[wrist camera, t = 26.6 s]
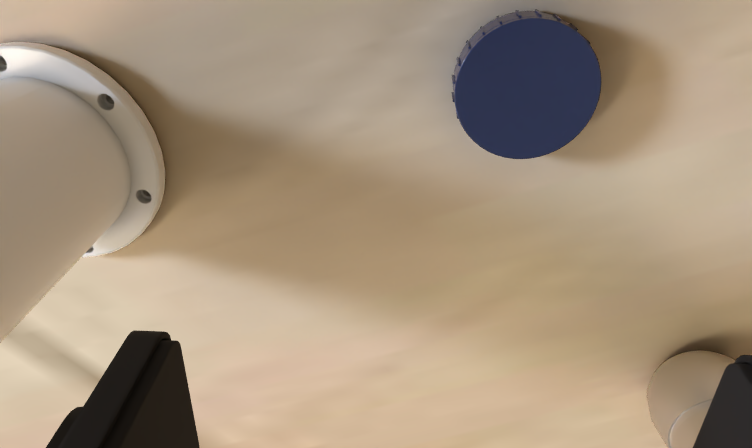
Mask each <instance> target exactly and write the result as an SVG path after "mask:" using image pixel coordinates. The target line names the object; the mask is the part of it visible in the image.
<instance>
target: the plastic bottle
mask: <svg viewBox="0 0 752 448" xmlns="http://www.w3.org/2000/svg"><path fill="white" fill-rule="evenodd" d="M735 361H736V360H734V359H732V358H730V357H728V356H725V355H722V354H719V353H715V352H711V351H703V350H699V351H689V352H684V353H681V354H678V355H676V356H674V357H672V358H670V359H668V360H667V361H665V362H664V363H663V364H661V365H660V366H659V368H658V369H657V370H656V371H655V373H654V374H653V376H652V378H651V381H650V383H649V386H648V389H647V400H648V405H649V410H650V415H651V420H652V422H653V424H654V426H655V428H656V429H657V431H658V433H659V434H660V436H661V438H662V439H663V441H664V442H665V444H666V445H667V447H668V448H693V446H694V443H695V441H696V438H697V436H698V433H699V431H700V429H701V426H702V424H703V421H704V419H705V416H706V414H707V412H708V409H709V407H710V404H711V402H712V399H713V397H714V395H715V392H716V390H717V387H718V385H719V382H720V380H721V378H722V375H723V373H724V370H725V368H726V367H727V365H729V364H732V363H735Z"/></svg>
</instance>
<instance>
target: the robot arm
mask: <svg viewBox="0 0 752 448" xmlns="http://www.w3.org/2000/svg"><path fill="white" fill-rule="evenodd" d="M110 97H111V98H112V99H113V100H112V99H111V98H110ZM164 190H165V167H164V161H163V155H162V150H161V148H160V145H159V142H158V140H157V137H156V134H155V132H154V130H153V128H152V126H151V125H150V123H149V121H148V119H147V118H146V116H145V114H144V112H143V111H142V110H141V108H140V107H139V106H138V105H137V103H136V102H135V101H134V100H133V98H132V97H131V96H130V95H129V93H128V92H127V91H126V90H125V89H123V88H122V87H121V86H120V85H119V84H118V83H117V82H116V81H115V80H114V79H113V78H111V77H110V76H109V75H108V74H106V73H105V72H104V71H102V70H101V69H99V68H98V67H96V66H95V65H93V64H92V63H90V62H89V61H87V60H85V59H83V58H81V57H78V56H76V55H74V54H72V53H70V52H68V51H66V50H63V49H59V48H55V47H52V46H48V45H45V44H41V43H30V42H19V41H18V42H9V43H1V44H0V343H1V342H2V341H3V340H4V338H5V337H6V336H7V335H8V334H9V333H10V332H11V331H12V330H13V329H14V328H15V327H16V326H17V325H18V324H19V323H20V322H21V320H22V319H23V318H24V317H25V316H26V315H27V314H28V313H29V312H30V311H31V310H32V309H33V308H34V307H35V306H36V305H37V304H38V302H39V301H40V300H41V299H42V298H43V297H44V296H45V295H46V294H47V293H48V292H49V291H50V290H51V289H52V288H53V287H54V286H55V284H56V283H57V282H58V281H59V280H60V279H61V278H62V277H63V276H64V275H65V274H66V273H67V272H68V271H69V270H70V269H71V268H72V266H73V265H74V264H75V263H76V262H77V261H78V260H79V259H80V258H83V257H97V256H101V255H105V254H109V253H113V252H115V251H117V250H119V249H121V248H123V247H125V246H127V245H129V244H130V243H131V242H133V241H134V240H135V239H136V238H137V237H139V236H140V235H141V234H142V233H143V232H144V230H145V229H146V228H147V227H148V226H149V224H150V223H151V222H152V221H153V219H154V217H155V215H156V213H157V212H158V210H159V208H160V205H161V202H162V198H163V194H164ZM46 448H199V442H198V436H197V431H196V426H195V420H194V415H193V409H192V404H191V399H190V393H189V388H188V383H187V377H186V372H185V367H184V361H183V356H182V351H181V346H180V343H179V342H178V341H171V338H170V335H169V334H168V333H167V332H157V331H132V332H131V333H130V334H129V335H128V336H127V338H126V340H125V341H124V343H123V344H122V346H121V348H120V349H119V351H118V352H117V354H116V355H115V357H114V359H113V360H112V362H111V363H110V365H109V367H108V368H107V370H106V371H105V373H104V375H103V376H102V378H101V379H100V381H99V383H98V384H97V386H96V387H95V389H94V391H93V392H92V394H91V395H90V397H89V399H88V400H87V402H86V403H85V405H84V406H83V407H77V408H75V409H74V410H72V411H71V412H70V413H69V414H68V415H67V417H66V418H65V419H64V421H63V422H62V424H61V425H60V427H59V428H58V430H57V431H56V433H55V434H54V436H53V438H52V439H51V441H50V442H49V444H48V445H47V447H46ZM693 448H752V355H743V356H740V357H738V358H737V359H736V361H735V363H732V364H729V365H727V367H726V368H725V370H724V373H723V375H722V378H721V380H720V382H719V385H718V387H717V390H716V392H715V395H714V397H713V399H712V402H711V404H710V407H709V409H708V412H707V414H706V416H705V419H704V421H703V424H702V426H701V429H700V431H699V433H698V436H697V438H696V441H695V443H694V446H693Z"/></svg>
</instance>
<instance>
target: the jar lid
mask: <svg viewBox="0 0 752 448" xmlns="http://www.w3.org/2000/svg"><path fill="white" fill-rule="evenodd" d="M577 30H578V29H577V28H576V27H575V26H574V25H572V24H571V23H570V24H568V23H567V22H565V21H564V20H562V19H560V18H559V17H558V16H557V15H556V14H554V15H551V14H548V13H545V12H539V11H538V10H536V9H535V11H520V12H519V11H518V10H516V12H514V13H510V14H506V15H504V16H501V17H499V16H497V19H495V20H493V21H491V22H489V23H488V24H486V25H485V26H483V27H482V26H481V27H480V30H479V31H478V32H476V33H475V34H474V35H473V36H472V38H471V39H470V40H469V41H468V40H467V41H466V45H465V47H464V48H463V50H462V52H461V54H460V56H459V57H457V64H456V67H455V71H454V75H452V80H453V92H452V98H453V102H455V107H456V113H457V118H458V119H459V121H460V123H461V125H462V127H463V129H464V130H465V131H466V133H467V134H468V136H469V137H470V138H471V139H472V140H473V141H474V142H475V143H476V144H478V145H479V146H480V147H482V148H483V149H485V150H487V151H488V152H491V153H493V154H495V155H498V156H502V157H506V158H512V159H529V158H535V157H540V156H543V155H546V154H549V153H551V152H554V151H556V150H558V149H560V148H561V147H563V146H565V145H566V144H568V143H569V142H570V141H571V140H573V139H574V138H575V137H576V136H577V135H578V134H579V133H580V132H581V131H582V130H583V129H584V127H585V126H586V125H587V123H588V122H589V120H590V119H591V117H592V115H593V113H594V111H595V109H596V106H597V103H598V100H599V96H600V91H601V71H600V67H599V62H598V59H597V57H596V55H595V53H594V51H593V49H592V47H591V46H590V42H589V41H588V40H587V39H586V38H585V37H583V36H582V35H580V34H579V33H578V32H577Z"/></svg>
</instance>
